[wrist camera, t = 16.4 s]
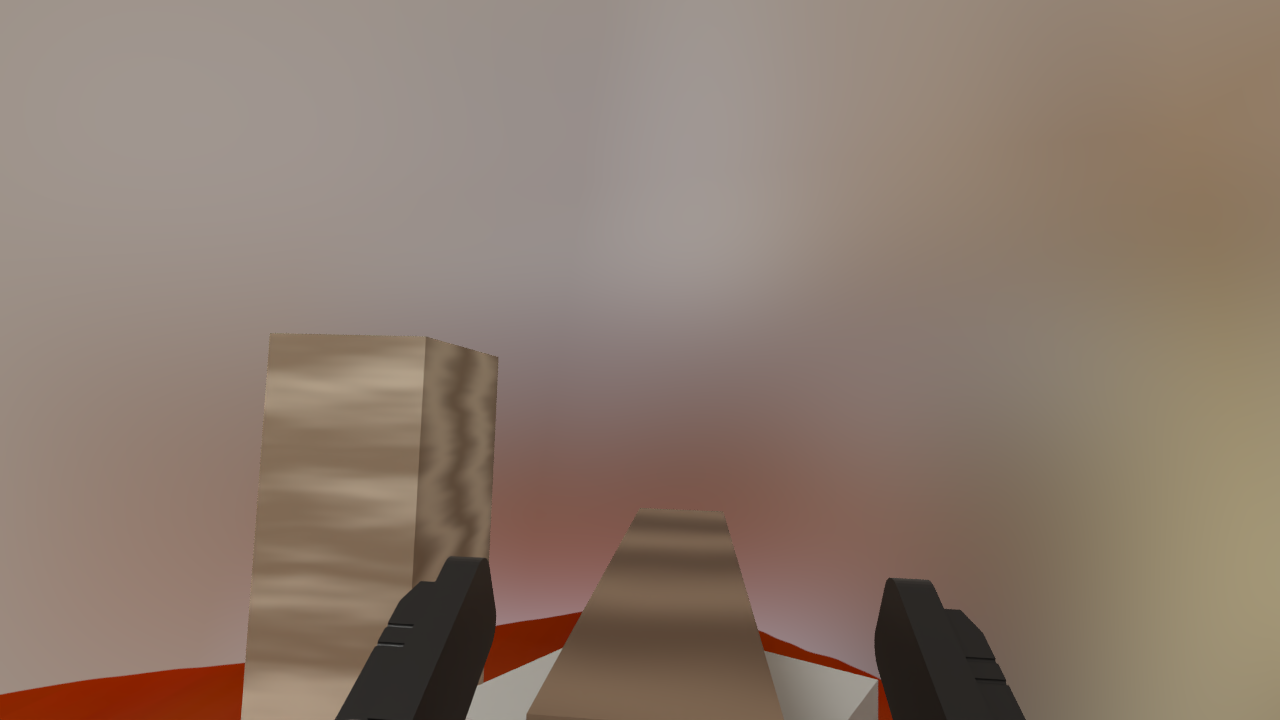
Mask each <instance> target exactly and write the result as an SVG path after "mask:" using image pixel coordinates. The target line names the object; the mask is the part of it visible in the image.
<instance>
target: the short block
mask: <svg viewBox="0 0 1280 720" xmlns="http://www.w3.org/2000/svg"><path fill="white" fill-rule="evenodd" d="M562 649H563V648H562ZM562 649H560V650H557V651H555V652H553V653H551V654H548V655H546V656H544V657H542V658H539V659H537V660H535V661H533V662H530V663H528V664H526V665H524V666H521V667H519V668H517V669H514V670H512V671H510V672H508V673H505V674H503V675H501V676H499V677H496V678H494V679H492V680H490V681H487V682H485V683H483V684H481V685H478V686H477V688H476V691H475V694H474V697H473V699H472V702H471V705H470V708H469V711H468V714H467V717H466V719H465V720H526V714H527V712H528V710H529V708H530V707H531V705H532V703H533V701H534V699H535V697H536V696H537V694H538V692H539V690H540V688H541V687H542V685H543V683H544V681H545V679H546V678H547V676H548V674H549V672H550V670H551V668H552V667H553V665H554V663H555V661H556V659H557V658H558V656H559V654H560V652H561V650H562ZM764 653H765V656H766V660H767V663H768V666H769V670H770V673H771V677H772V680H773V683H774V687H775V690H776V694H777V697H778V700H779V704H780V707H781V711H782V714H783V718H784V720H878V680H876V679H872V678H868V677H864V676H861V675H857V674H853V673H849V672H845V671H841V670H837V669H833V668H829V667H825V666H821V665H817V664H813V663H810V662H806V661H802V660H798V659H794V658H790V657H786V656H782V655H778V654H774V653H770V652H766V651H764Z"/></svg>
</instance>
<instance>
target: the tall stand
mask: <svg viewBox="0 0 1280 720" xmlns="http://www.w3.org/2000/svg"><path fill="white" fill-rule="evenodd" d="M497 375H498V357H496V356H492V355H489V354H485V353H482V352H478V351H475V350H471V349H467V348H464V347H461V346H457V345H454V344H450V343H446V342H442V341H439V340H436V339H432V338H429V337H417V336H370V335H325V334H278V333H277V334H276V333H275V334H274V333H270V342H269V355H268V368H267V381H266V395H265V409H264V421H263V434H262V448H261V462H260V474H259V488H258V501H257V515H256V528H255V542H254V554H253V568H252V581H251V595H250V608H249V621H248V634H247V648H246V662H245V674H244V688H243V701H242V714H241V720H335V718H336V716H337V715H338V713H339V711H340V709H341V707H342V706H343V704H344V702H345V700H346V698H347V696H348V695H349V693H350V691H351V689H352V687H353V685H354V684H355V682H356V680H357V678H358V676H359V674H360V673H361V671H362V669H363V667H364V665H365V663H366V662H367V660H368V658H369V656H370V654H371V652H372V651H373V649H374V647H375V646H377V644H378V640H379V638H380V636H381V634H382V632H383V630H384V629H385V627H387V626H388V621H389V619H390V618H391V616H392V614H393V612H394V610H395V608H396V607H397V605H398V603H399V601H400V600H401V599H402V598H403V597H404V596H405V595H406V594H407V593H408V592H409V591H410V590H412V589H413V588H414V587H415V586H416V585H417V584H418V583H419V582H420V581H429V582H435V581H436V579H437V577H438V575H439V573H440V571H441V569H442V567H443V565H444V563H445V561H446V560H447V558H448V557H450V556H461V557H480V558H487V560H488V562H489V548H490V526H491V525H490V524H491V505H492V484H493V462H494V461H493V460H494V441H495V419H496V398H497V377H498V376H497ZM483 676H484V668H483V671H482V674H481V676H480V679H479V682H478V685H481V684H483ZM478 685H477V686H478Z"/></svg>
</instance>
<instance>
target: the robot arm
mask: <svg viewBox="0 0 1280 720" xmlns="http://www.w3.org/2000/svg"><path fill="white" fill-rule="evenodd" d="M495 625H496V609H495V602H494V595H493V588H492V581H491V574H490V567H489V562H488V560H487V558H480V557H461V556H450V557H448V558H447V560H446V561H445V563H444V565H443V567H442V569H441V571H440V573H439V575H438V577H437V579H436V581H435V582H429V581H420V582H419V583H418V584H417V585H416V586H415V587H414V588H413V589H412V590H410V591H409V592H408V593H407V594H406V595H405V596H404V597H403V598H402V599H401V600H400V601H399V603H398V605H397V607H396V608H395V610H394V612H393V614H392V616H391V618H390V619H389V621H388V626H387V627H385V629H384V630H383V632H382V634H381V636H380V638H379V640H378V644H377V646H375V647H374V649H373V651H372V652H371V654H370V656H369V658H368V660H367V662H366V663H365V665H364V667H363V669H362V671H361V673H360V674H359V676H358V678H357V680H356V682H355V684H354V685H353V687H352V689H351V691H350V693H349V695H348V696H347V698H346V700H345V702H344V704H343V706H342V707H341V709H340V711H339V713H338V715H337V716H336V718H335V720H465V719H466V717H467V714H468V711H469V708H470V705H471V702H472V699H473V697H474V694H475V691H476V688H477V685H478V682H479V679H480V676H481V674H482V671H483V668H484V665H485V662H486V659H487V656H488V654H489V651H490V648H491V645H492V642H493V638H494V633H495ZM875 656H876V662H877V666H878V670H879V674H880V677H881V680H882V684H883V687H884V691H885V694H886V697H887V701H888V704H889V707H890V711H891V714H892V718H893V720H1026V719H1025V718H1024V716H1023V713H1022V711H1021V709H1020V707H1019V705H1018V703H1017V701H1016V699H1015V697H1014V695H1013V693H1012V691H1011V689H1010V687H1009V686H1008V685H1006V679H1005V677H1004V675H1003V673H1002V671H1001V669H1000V667H999V665H998V664H996V662H995V657H994V655H993V653H992V651H991V649H990V647H989V645H988V643H987V640H986V639H985V636H984V634H983V633H982V632H981V631H980V630H979V629H978V627H976V625H975V624H974V623H973V622H972V621H971V620H970V619H968V617H967V616H966V615H965V614H964V613H963V612H962V611H961V610H952V609H944V608H943V606H942V603H941V601H940V599H939V597H938V595H937V592H936V590H935V588H934V586H933V584H932V583H931V582H930V581H929V580H921V579H901V578H889V579H888V580H887V581H886V584H885V588H884V593H883V598H882V603H881V607H880V612H879V617H878V621H877V626H876V631H875Z"/></svg>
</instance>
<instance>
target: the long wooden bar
mask: <svg viewBox="0 0 1280 720" xmlns="http://www.w3.org/2000/svg"><path fill="white" fill-rule="evenodd" d="M526 720H784V718H783V714H782V711H781V707H780V704H779V700H778V697H777V694H776V690H775V687H774V683H773V680H772V677H771V673H770V670H769V666H768V663H767V660H766V656H765V653H764V649H763V646H762V642H761V639H760V636H759V632H758V629H757V626H756V622H755V619H754V615H753V612H752V609H751V605H750V602H749V598H748V595H747V592H746V588H745V585H744V582H743V578H742V574H741V571H740V568H739V564H738V561H737V557H736V554H735V550H734V547H733V544H732V540H731V537H730V533H729V530H728V527H727V523H726V520H725V516H724V513H723V512H718V511H716V512H715V511H694V510H670V509H647V508H640V509H639V511H638V513H637V514H636V516H635V518H634V520H633V522H632V524H631V525H630V527H629V529H628V531H627V533H626V534H625V536H624V538H623V540H622V542H621V543H620V545H619V547H618V549H617V551H616V553H615V554H614V556H613V558H612V560H611V562H610V564H609V565H608V567H607V569H606V571H605V572H604V574H603V576H602V578H601V580H600V582H599V584H598V585H597V587H596V589H595V591H594V592H593V594H592V596H591V598H590V600H589V601H588V603H587V605H586V607H585V609H584V610H583V612H582V614H581V616H580V618H579V620H578V621H577V623H576V625H575V627H574V629H573V630H572V632H571V634H570V636H569V638H568V639H567V641H566V643H565V645H564V647H563V649H562V650H561V652H560V654H559V656H558V658H557V659H556V661H555V663H554V665H553V667H552V668H551V670H550V672H549V674H548V676H547V678H546V679H545V681H544V683H543V685H542V687H541V688H540V690H539V692H538V694H537V696H536V697H535V699H534V701H533V703H532V705H531V707H530V708H529V710H528V712H527V714H526Z"/></svg>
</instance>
